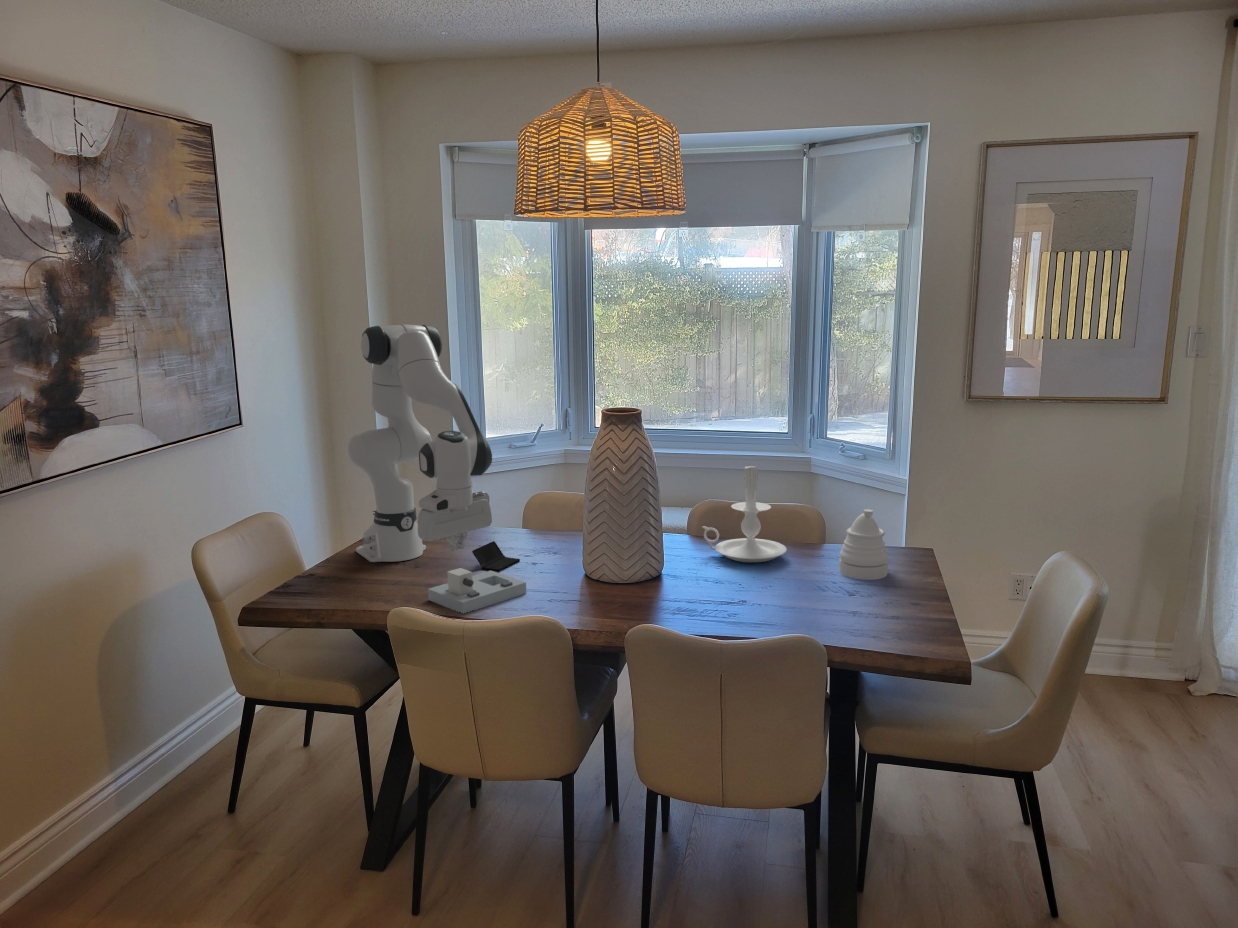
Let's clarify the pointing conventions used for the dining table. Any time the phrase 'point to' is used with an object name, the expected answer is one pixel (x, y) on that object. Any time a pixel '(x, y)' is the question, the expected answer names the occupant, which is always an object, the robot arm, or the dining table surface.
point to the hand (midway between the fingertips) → (457, 550)
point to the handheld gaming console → (493, 558)
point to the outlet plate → (479, 592)
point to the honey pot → (864, 550)
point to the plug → (460, 582)
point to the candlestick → (748, 529)
